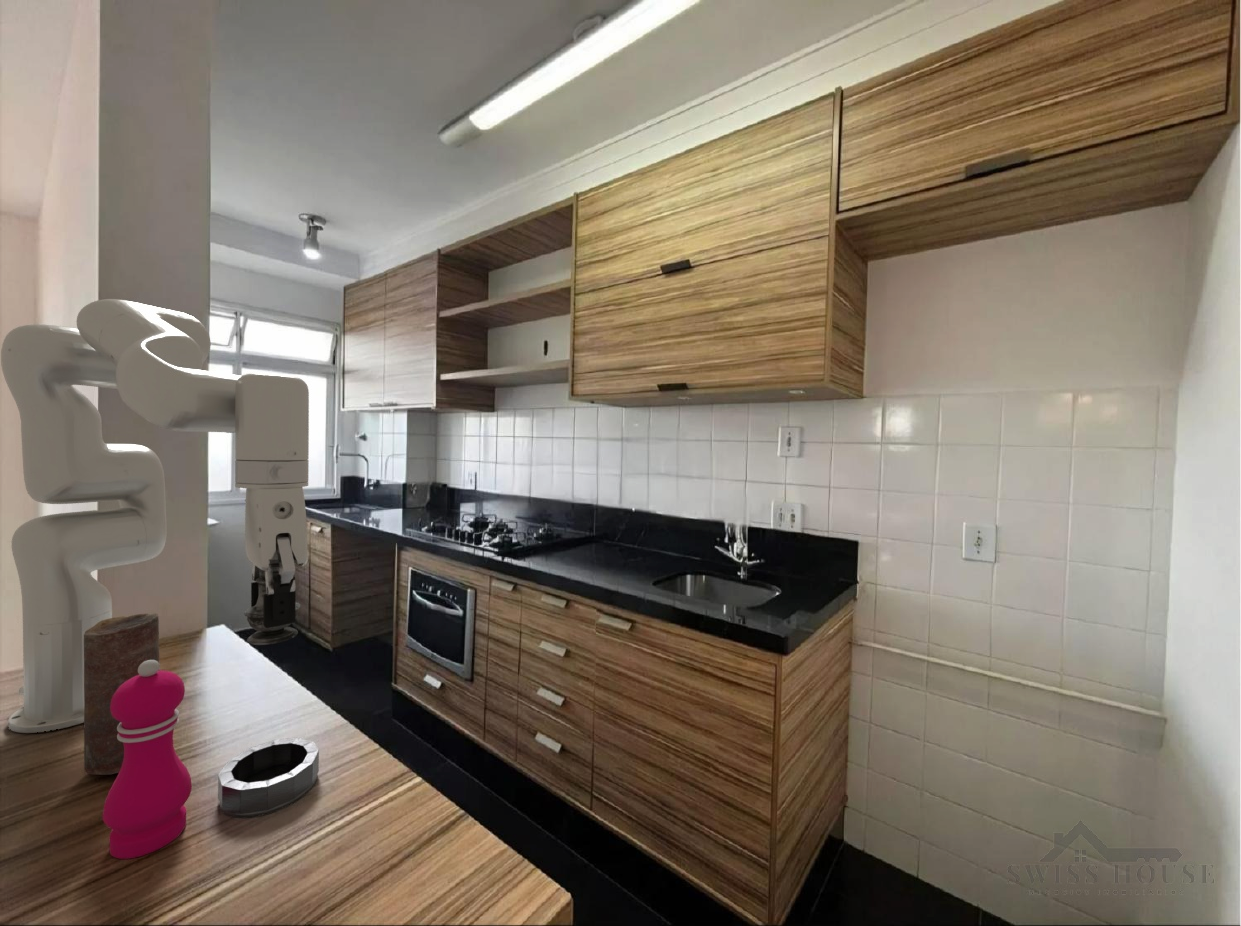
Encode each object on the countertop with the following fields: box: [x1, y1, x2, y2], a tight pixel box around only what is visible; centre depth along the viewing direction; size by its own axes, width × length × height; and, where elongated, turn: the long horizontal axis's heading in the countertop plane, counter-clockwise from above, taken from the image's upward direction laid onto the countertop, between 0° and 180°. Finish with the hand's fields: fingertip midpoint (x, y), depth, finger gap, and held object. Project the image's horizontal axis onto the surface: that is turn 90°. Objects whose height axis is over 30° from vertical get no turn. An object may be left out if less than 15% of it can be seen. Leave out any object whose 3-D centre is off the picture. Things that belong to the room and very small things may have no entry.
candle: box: [83, 612, 160, 776], centre depth 68 cm, size 8×7×20 cm
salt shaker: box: [244, 563, 302, 646], centre depth 64 cm, size 6×6×12 cm
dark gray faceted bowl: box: [217, 737, 320, 819], centre depth 65 cm, size 10×10×4 cm
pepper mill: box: [102, 660, 193, 860], centre depth 56 cm, size 7×7×20 cm
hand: (272, 616), depth 64 cm, fingers closed on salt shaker, 5 cm apart
